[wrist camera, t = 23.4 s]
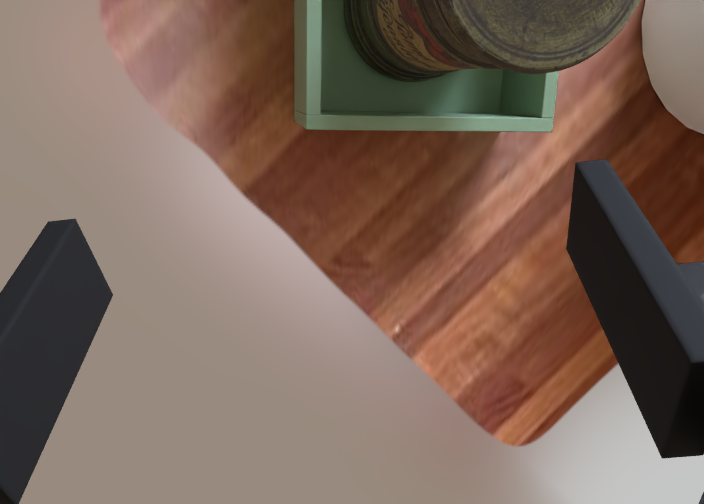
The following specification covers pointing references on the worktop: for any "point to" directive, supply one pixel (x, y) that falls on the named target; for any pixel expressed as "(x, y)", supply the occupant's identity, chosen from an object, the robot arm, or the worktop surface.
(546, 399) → the worktop surface
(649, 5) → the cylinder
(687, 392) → the robot arm
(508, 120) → the tub
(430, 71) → the container
